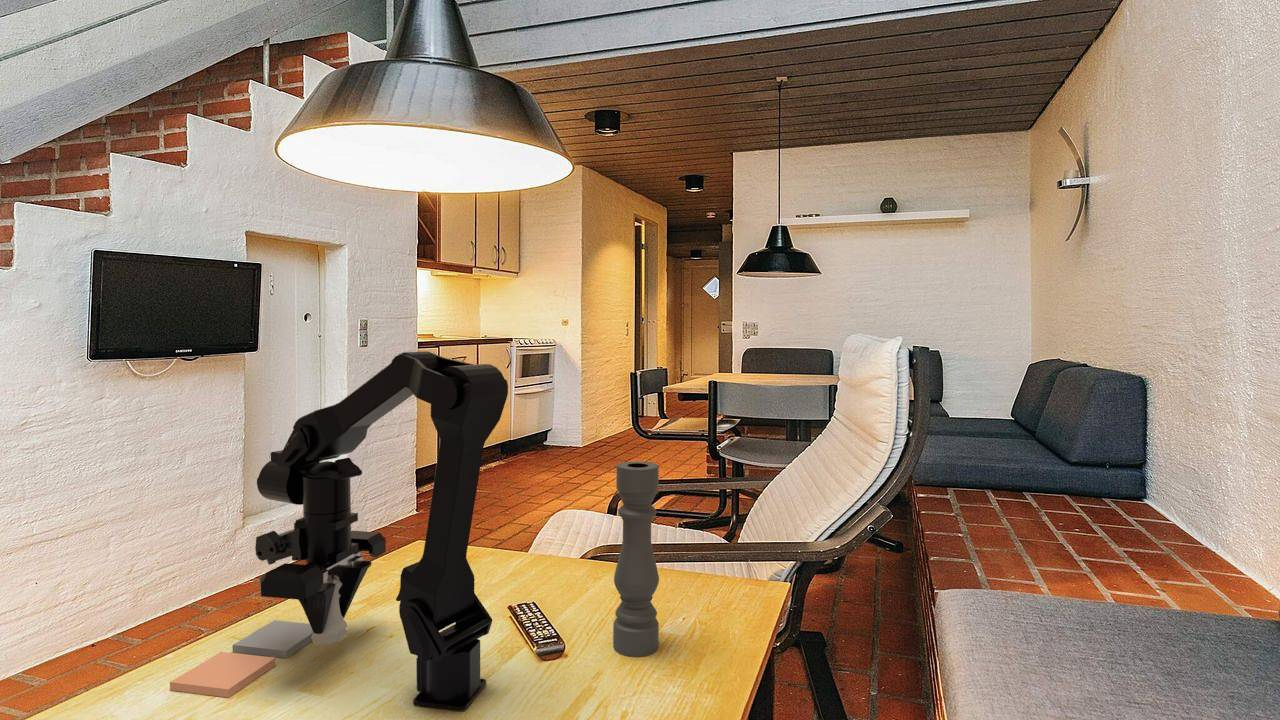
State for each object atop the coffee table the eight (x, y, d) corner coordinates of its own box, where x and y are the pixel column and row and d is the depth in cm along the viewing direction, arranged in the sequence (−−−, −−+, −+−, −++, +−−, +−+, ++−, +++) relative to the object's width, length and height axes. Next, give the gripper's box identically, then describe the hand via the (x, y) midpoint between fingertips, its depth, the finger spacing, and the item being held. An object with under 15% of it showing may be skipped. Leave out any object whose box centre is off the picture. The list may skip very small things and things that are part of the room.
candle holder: (605, 651, 96) (607, 467, 95) (623, 633, 102) (625, 459, 101) (648, 660, 94) (650, 471, 93) (664, 640, 100) (667, 463, 98)
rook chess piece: (337, 627, 98) (336, 570, 97) (354, 637, 95) (353, 577, 94) (304, 639, 94) (303, 579, 94) (321, 649, 91) (320, 587, 91)
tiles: (324, 632, 102) (324, 625, 101) (228, 697, 84) (228, 689, 84) (274, 626, 103) (274, 620, 103) (169, 690, 85) (169, 682, 85)
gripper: (317, 489, 104) (319, 594, 105) (218, 525, 86) (222, 652, 87) (387, 493, 102) (388, 600, 103) (301, 530, 84) (304, 661, 85)
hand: (329, 625), depth 94 cm, fingers closed on rook chess piece, 4 cm apart
